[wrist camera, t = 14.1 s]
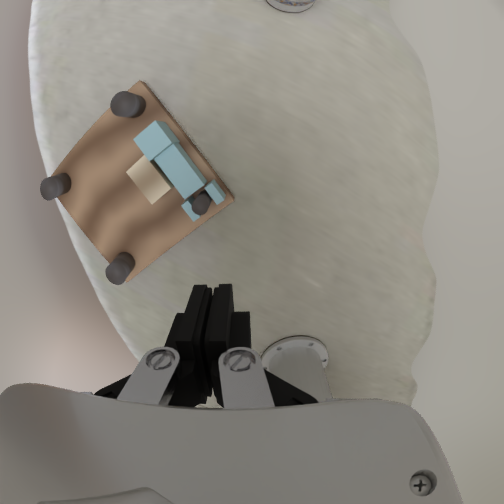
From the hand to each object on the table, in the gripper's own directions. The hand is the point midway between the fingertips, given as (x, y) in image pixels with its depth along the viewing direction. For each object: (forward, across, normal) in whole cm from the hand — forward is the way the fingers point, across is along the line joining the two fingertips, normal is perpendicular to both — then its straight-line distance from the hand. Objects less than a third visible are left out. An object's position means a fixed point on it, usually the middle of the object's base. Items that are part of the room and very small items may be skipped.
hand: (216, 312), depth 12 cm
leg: (+23, +6, -5) cm, 24 cm away
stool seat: (+25, +14, -4) cm, 29 cm away
